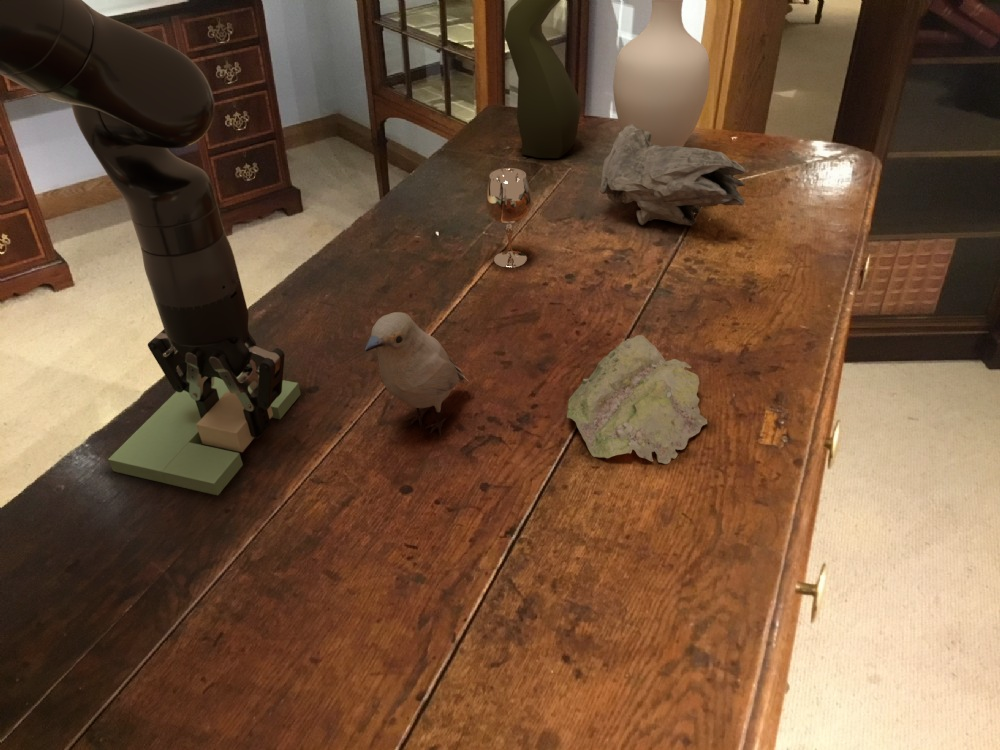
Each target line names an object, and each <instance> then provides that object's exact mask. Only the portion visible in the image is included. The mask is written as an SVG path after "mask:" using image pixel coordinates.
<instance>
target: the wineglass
mask: <svg viewBox="0 0 1000 750" xmlns="http://www.w3.org/2000/svg"><path fill="white" fill-rule="evenodd" d="M530 187H531V186H530V184H529V178H528V176H527V173H526V172H525V171H524V170H522V169H519V168H514V167H505V168H499V169H496V170H493V171H492V172H490V174H489V176H488V182H487V185H486V195H485V204H486V209H487V212H488V214H489V216H490V217H491V218H492V219H493V220H494V221H496V222H498V223H500V224H505V232H506V233H505V234H506V235H507V243H508V244H507V246H508V247H507V250H505V251H501V252H499V253H497V254H496V255H495V256H494V257H493V263H494V264H495V265H497V266H498V267H501V268H506V269H507V268H508V269H512V268H513V269H514V268H518V267H521V266H524V264H526V263H527V261H528V257H527V255H526V254H525V253H523V252H521V251H518V250H513V245H512V244H513V241H512V240H513V239H512V237H513V233H514V224H516V223H519V222H521V221H523V220H524V219H525V218H526V217H527V216H528V215H529V213H530V211H531V207H532V206H531V205H532V193H531V188H530Z"/></svg>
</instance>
